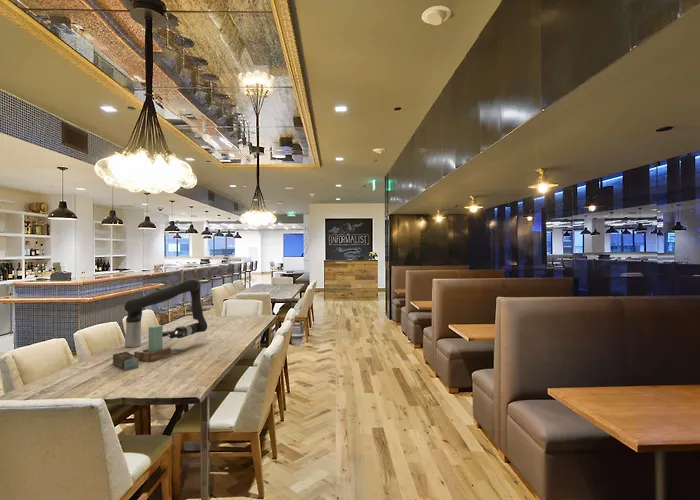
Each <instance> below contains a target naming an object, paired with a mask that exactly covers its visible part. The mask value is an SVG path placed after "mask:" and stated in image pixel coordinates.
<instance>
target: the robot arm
mask: <svg viewBox="0 0 700 500" xmlns="http://www.w3.org/2000/svg"><path fill="white" fill-rule="evenodd" d="M188 292H189V293H190V296H191V297H190V298H191V314H192V318H193V320H197V322H194V323H191V324H187V325H182V326H178V327H175V329H174V330H168V331H163V335H162V338H165V337H168V338H169V339H175V338H177V339H183V338H187V337H188V336H191V335H194V334H197V333H203V332H205V331H207V329H208V323H207V321H206V318H205V317H204V311H203V307H202V301H201V282H200V281H199V279H197V278H193V277H192V278H188V279H186V280H185V281H183V282H180V283H178V284H175V285H171V286H170V285H169V286H166V287H163V288H160V289H158V290H155V291H152V292H151V293H148V294H146V295H145V296H142V297H138V298H131V299H129V300H127V301H126V303H125V304H124V306H123V307H124V310H125V311H126V312H127V316H126V318H125V334H124V348H136V347H140V346H141V345H142V318H143V317H142V316H143V309H144V308H146V307H149V306H154V305H157V304H162V303H164V302H167V301H169V300H172V299H174V298H175V297H178V296H179V295H181V294H184V293H188Z"/></svg>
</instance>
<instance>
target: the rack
mask: <svg viewBox="0 0 700 500" xmlns="http://www.w3.org/2000/svg"><path fill="white" fill-rule="evenodd" d="M171 350H172V347H167V348H162V350H159V351H156V352H153V353H147V352H143V351H134V352H133V355H134V356H136V357H138V362H139V361H140V362H146V361H147V362H146V363H153V362H156V361H158V360H161V359H165V358H167V357H171V356H172V354H171Z"/></svg>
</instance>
